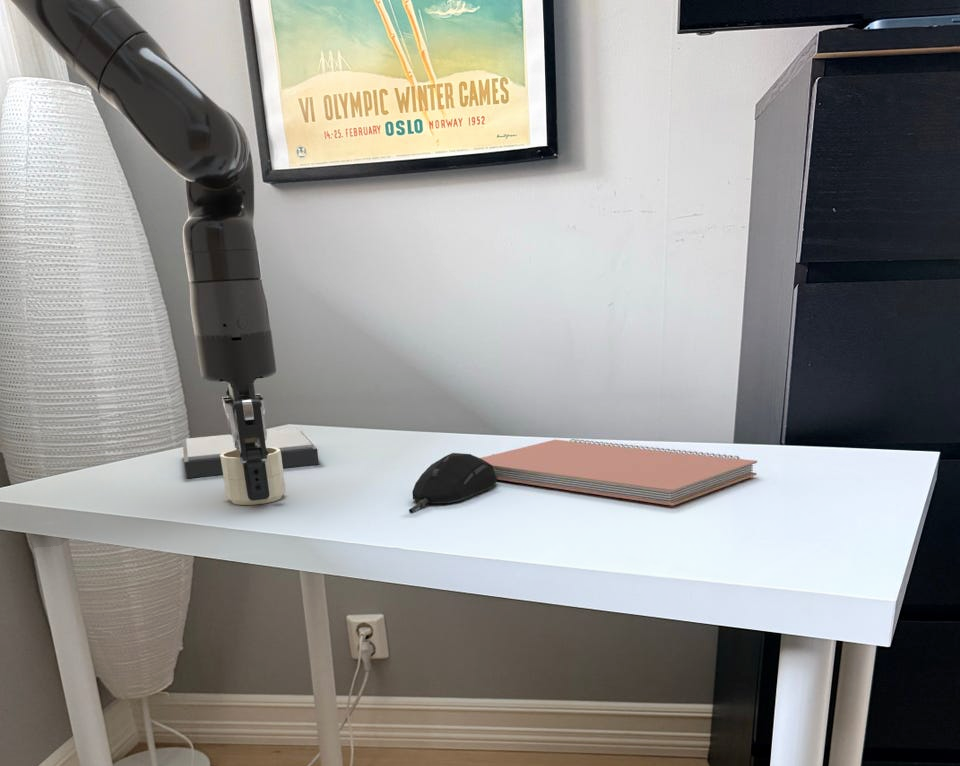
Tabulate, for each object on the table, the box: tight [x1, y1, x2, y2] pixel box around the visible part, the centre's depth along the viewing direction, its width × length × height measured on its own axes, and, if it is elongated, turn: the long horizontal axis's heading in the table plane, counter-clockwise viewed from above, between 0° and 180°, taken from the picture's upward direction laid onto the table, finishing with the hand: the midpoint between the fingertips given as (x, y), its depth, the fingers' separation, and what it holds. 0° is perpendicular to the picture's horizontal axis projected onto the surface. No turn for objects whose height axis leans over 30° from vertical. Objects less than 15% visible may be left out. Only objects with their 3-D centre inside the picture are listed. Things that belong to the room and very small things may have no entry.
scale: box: [182, 427, 320, 479], centre depth 121 cm, size 16×16×2 cm
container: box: [220, 447, 287, 506], centre depth 99 cm, size 6×6×5 cm
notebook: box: [480, 438, 758, 506], centre depth 101 cm, size 27×17×2 cm, turn 46°
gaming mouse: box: [408, 452, 498, 514], centre depth 96 cm, size 6×15×4 cm, turn 152°
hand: (256, 491), depth 99 cm, fingers open, 7 cm apart
